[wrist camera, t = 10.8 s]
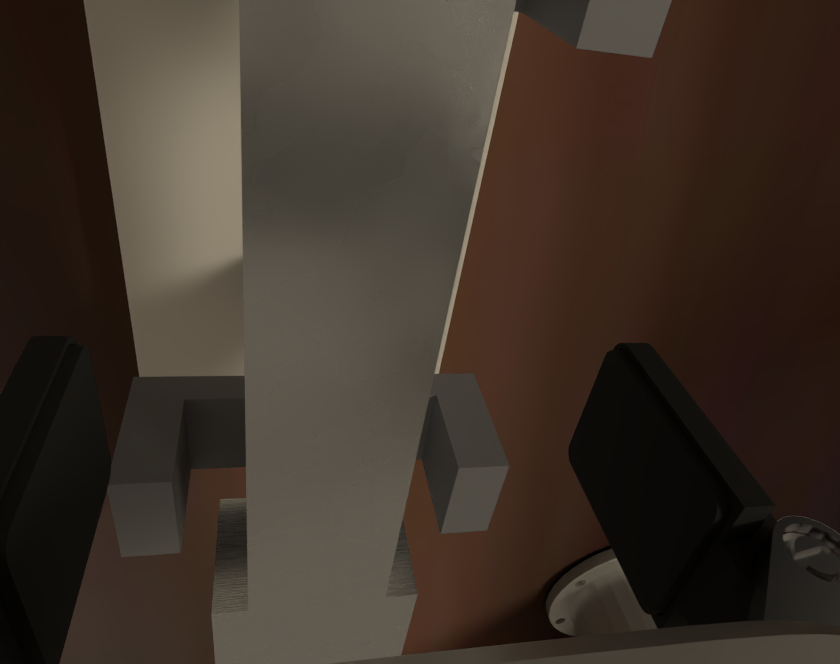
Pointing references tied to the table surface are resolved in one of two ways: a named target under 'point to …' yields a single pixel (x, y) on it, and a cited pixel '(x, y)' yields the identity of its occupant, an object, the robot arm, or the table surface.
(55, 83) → the table surface
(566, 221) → the table surface
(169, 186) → the rack
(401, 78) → the grey upright bar
